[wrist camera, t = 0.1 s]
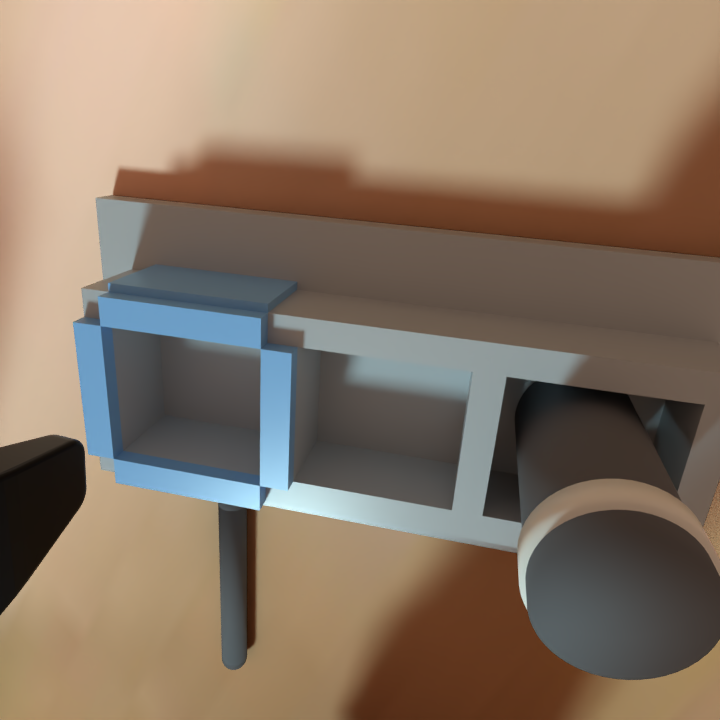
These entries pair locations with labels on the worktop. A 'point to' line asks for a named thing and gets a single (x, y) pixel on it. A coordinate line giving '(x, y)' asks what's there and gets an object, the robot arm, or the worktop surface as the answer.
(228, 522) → the rod
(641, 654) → the dark grey cylinder
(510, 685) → the worktop surface
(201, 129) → the worktop surface
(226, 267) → the narrow cubby shelf
